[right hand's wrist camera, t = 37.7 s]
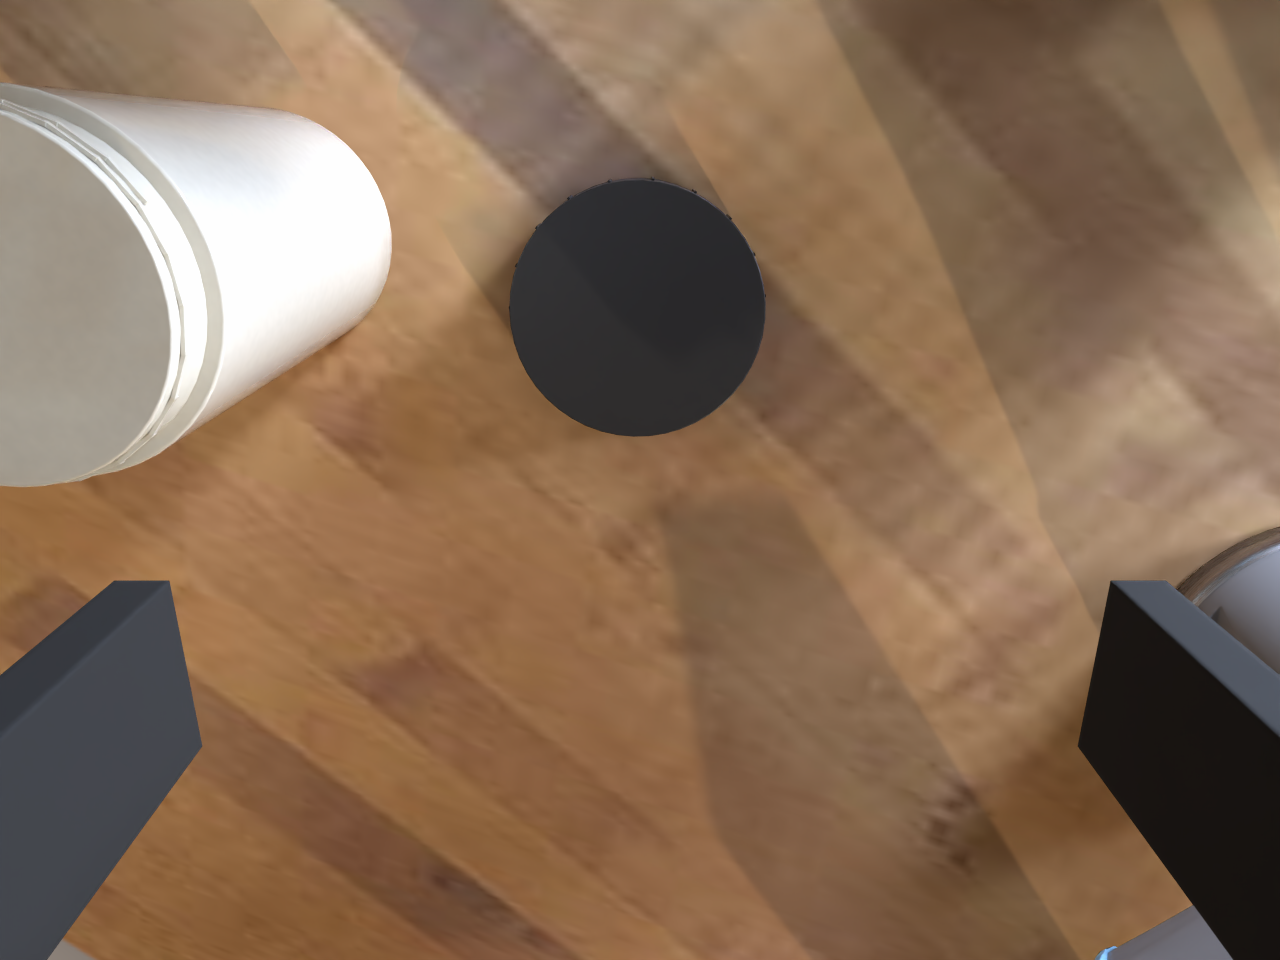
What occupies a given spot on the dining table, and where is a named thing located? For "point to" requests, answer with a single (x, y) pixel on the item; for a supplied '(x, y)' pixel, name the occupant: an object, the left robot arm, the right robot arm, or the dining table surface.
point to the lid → (637, 307)
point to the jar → (165, 268)
